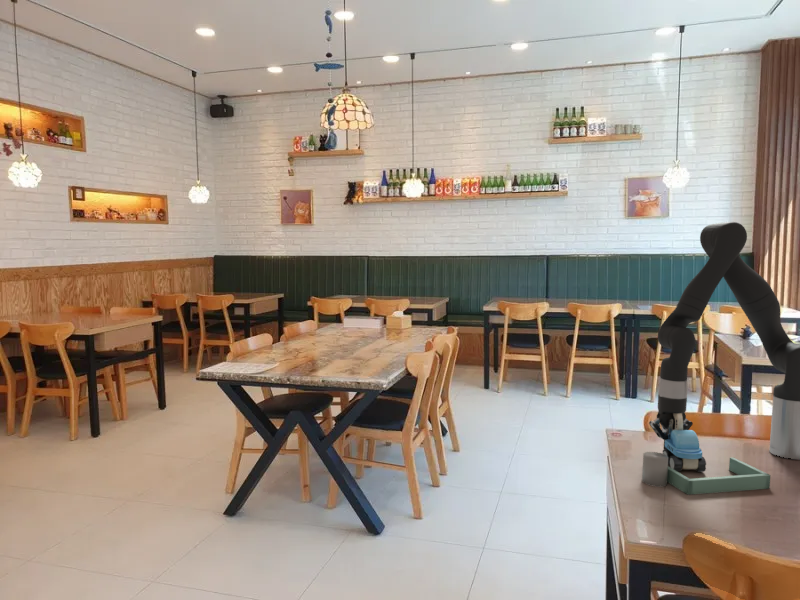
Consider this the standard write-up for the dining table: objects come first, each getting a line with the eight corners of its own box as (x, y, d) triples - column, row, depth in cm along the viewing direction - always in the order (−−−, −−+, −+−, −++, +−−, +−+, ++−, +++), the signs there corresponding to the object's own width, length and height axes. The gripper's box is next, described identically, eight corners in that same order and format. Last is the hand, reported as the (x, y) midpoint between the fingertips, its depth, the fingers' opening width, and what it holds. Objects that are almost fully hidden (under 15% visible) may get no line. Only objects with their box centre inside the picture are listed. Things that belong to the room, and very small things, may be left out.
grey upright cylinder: (657, 476, 157) (658, 451, 157) (671, 485, 151) (673, 459, 151) (637, 478, 156) (638, 452, 155) (650, 487, 150) (652, 460, 150)
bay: (732, 469, 163) (733, 457, 162) (769, 488, 150) (770, 475, 150) (656, 475, 158) (657, 462, 158) (687, 494, 146) (688, 481, 145)
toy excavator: (682, 453, 175) (686, 397, 173) (707, 475, 158) (711, 413, 157) (653, 452, 175) (656, 396, 174) (675, 474, 159) (678, 412, 157)
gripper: (684, 390, 174) (681, 447, 176) (644, 391, 172) (640, 449, 174) (702, 396, 167) (698, 456, 169) (659, 398, 165) (656, 458, 166)
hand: (669, 452), depth 171 cm, fingers closed
